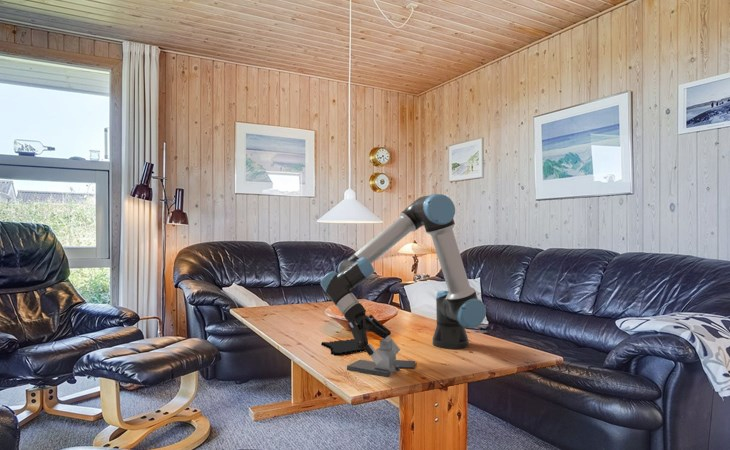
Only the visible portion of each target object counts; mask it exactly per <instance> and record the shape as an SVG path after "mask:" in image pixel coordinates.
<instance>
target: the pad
mask: <svg viewBox="0 0 730 450" xmlns="http://www.w3.org/2000/svg"><path fill="white" fill-rule="evenodd" d="M396 365H397V366H400V369H404V370H405V369H406V370H407V369H408V370H414V369H415V367H416V360H405V359H401V360H400V359H396Z"/></svg>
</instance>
